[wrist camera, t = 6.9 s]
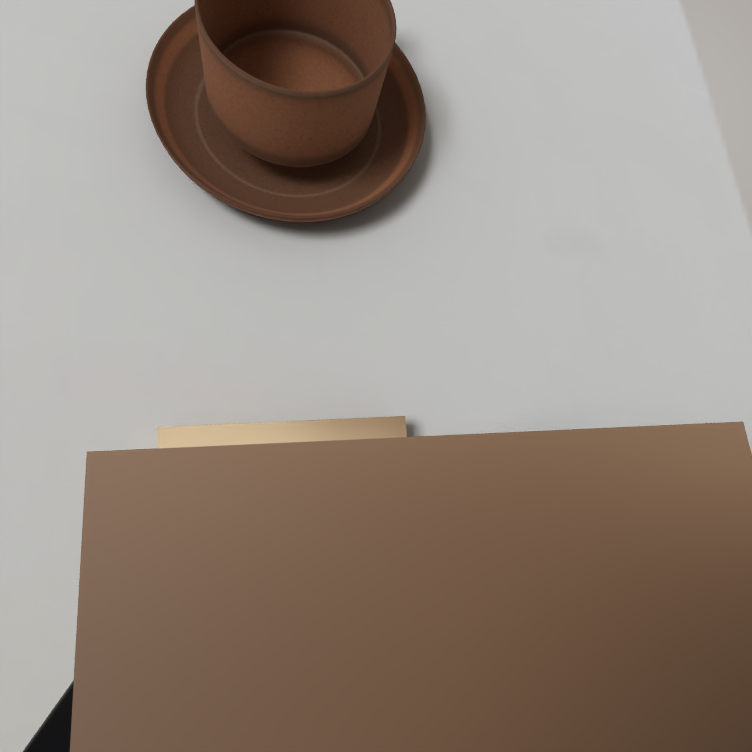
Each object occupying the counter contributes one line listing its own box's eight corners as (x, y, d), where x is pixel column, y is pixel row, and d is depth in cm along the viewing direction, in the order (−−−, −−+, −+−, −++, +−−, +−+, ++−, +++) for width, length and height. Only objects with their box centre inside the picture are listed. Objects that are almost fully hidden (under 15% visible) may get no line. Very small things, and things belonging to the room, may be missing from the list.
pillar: (401, 696, 15) (959, 1254, 3) (219, 722, 14) (17, 1664, 2) (386, 515, 16) (742, 421, 4) (218, 528, 15) (86, 451, 3)
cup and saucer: (201, -11, 28) (187, -156, 22) (435, 70, 30) (478, -47, 24) (113, 192, 24) (68, 81, 18) (385, 274, 26) (423, 195, 20)
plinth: (428, 756, 20) (455, 790, 18) (159, 803, 19) (142, 849, 16) (396, 423, 24) (415, 407, 21) (164, 434, 22) (150, 418, 19)
